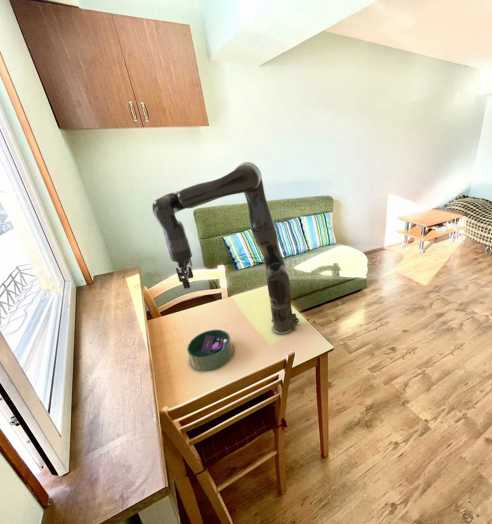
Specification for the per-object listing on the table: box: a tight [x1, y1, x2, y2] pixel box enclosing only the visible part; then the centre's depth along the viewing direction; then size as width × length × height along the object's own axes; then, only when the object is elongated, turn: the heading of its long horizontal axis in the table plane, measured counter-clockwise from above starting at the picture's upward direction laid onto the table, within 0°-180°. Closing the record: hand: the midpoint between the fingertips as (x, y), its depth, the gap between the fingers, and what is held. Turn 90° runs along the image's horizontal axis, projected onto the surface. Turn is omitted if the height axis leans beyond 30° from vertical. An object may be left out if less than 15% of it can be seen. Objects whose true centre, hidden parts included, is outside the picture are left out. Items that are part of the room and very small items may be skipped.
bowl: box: [186, 329, 234, 372], centre depth 116 cm, size 16×16×7 cm
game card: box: [201, 335, 228, 354], centre depth 117 cm, size 7×5×9 cm
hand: (189, 282), depth 116 cm, fingers open, 8 cm apart
